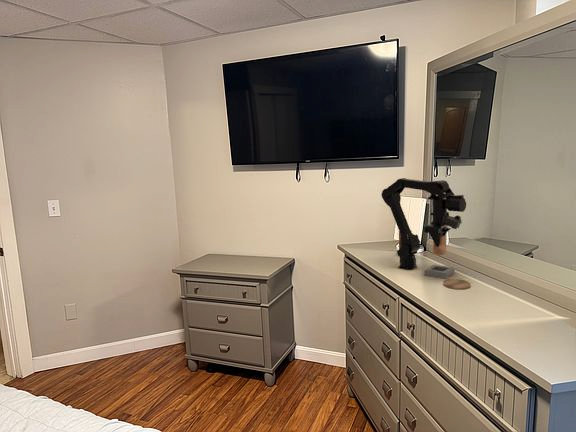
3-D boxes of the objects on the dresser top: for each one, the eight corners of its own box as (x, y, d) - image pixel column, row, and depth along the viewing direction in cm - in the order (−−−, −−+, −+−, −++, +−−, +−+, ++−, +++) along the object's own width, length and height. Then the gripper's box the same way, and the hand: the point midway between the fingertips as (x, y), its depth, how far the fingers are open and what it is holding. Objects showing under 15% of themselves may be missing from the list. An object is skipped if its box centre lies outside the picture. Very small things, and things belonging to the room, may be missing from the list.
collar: (424, 275, 169) (424, 269, 169) (433, 269, 176) (433, 264, 176) (446, 279, 163) (446, 273, 162) (454, 273, 170) (454, 267, 169)
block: (433, 253, 168) (433, 235, 167) (436, 251, 171) (437, 234, 170) (442, 255, 165) (442, 236, 164) (446, 253, 168) (446, 235, 167)
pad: (439, 286, 155) (439, 284, 154) (448, 279, 162) (448, 277, 162) (465, 291, 148) (465, 288, 148) (474, 284, 155) (474, 281, 155)
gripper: (450, 214, 153) (450, 252, 155) (466, 208, 166) (466, 243, 169) (423, 212, 161) (423, 249, 163) (441, 206, 174) (441, 240, 176)
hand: (439, 245), depth 167 cm, fingers closed on block, 4 cm apart
